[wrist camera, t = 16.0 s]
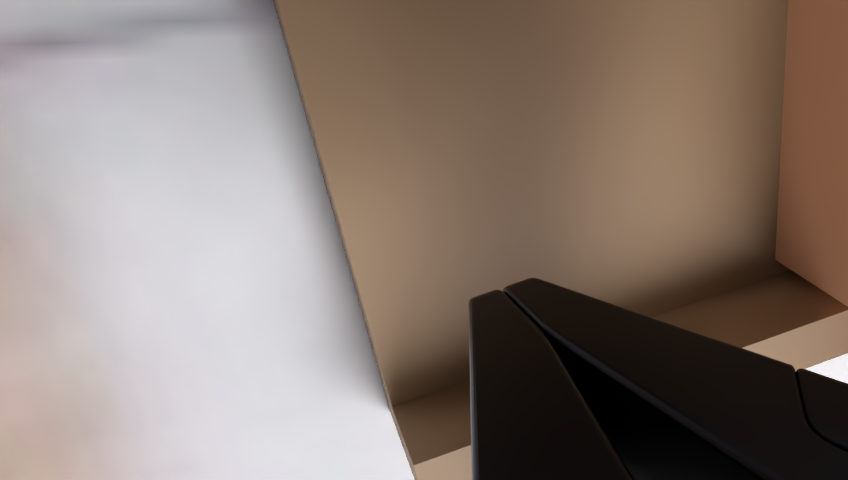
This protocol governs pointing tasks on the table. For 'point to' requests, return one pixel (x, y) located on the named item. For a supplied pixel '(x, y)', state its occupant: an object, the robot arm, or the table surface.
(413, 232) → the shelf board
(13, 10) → the table surface
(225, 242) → the table surface
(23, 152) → the table surface
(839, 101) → the light orange box
